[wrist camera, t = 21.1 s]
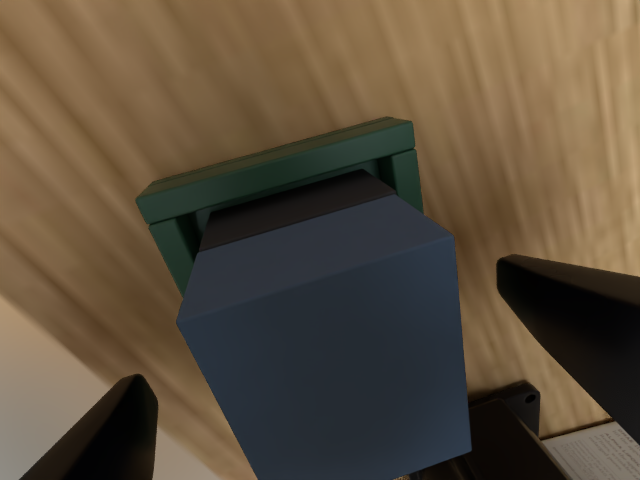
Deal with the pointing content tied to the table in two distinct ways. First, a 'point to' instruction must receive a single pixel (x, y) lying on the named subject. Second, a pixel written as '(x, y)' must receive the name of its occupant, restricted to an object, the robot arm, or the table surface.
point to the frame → (274, 182)
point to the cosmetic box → (597, 453)
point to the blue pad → (335, 344)
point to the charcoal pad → (292, 207)
